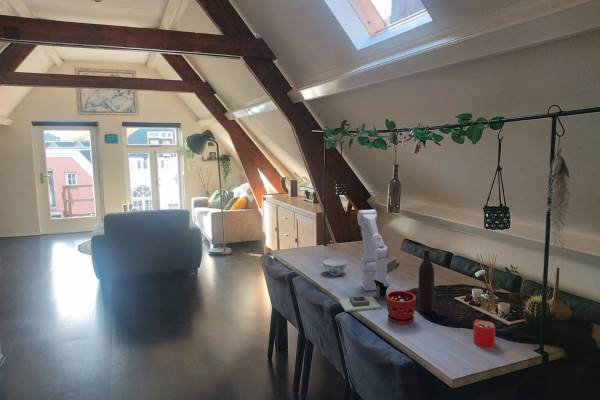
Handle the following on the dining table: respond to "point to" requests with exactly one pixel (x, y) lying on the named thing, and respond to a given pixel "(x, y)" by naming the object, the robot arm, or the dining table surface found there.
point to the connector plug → (379, 294)
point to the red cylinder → (484, 333)
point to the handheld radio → (391, 264)
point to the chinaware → (335, 266)
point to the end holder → (359, 303)
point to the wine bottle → (426, 284)
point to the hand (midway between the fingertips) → (381, 294)
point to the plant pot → (401, 307)
